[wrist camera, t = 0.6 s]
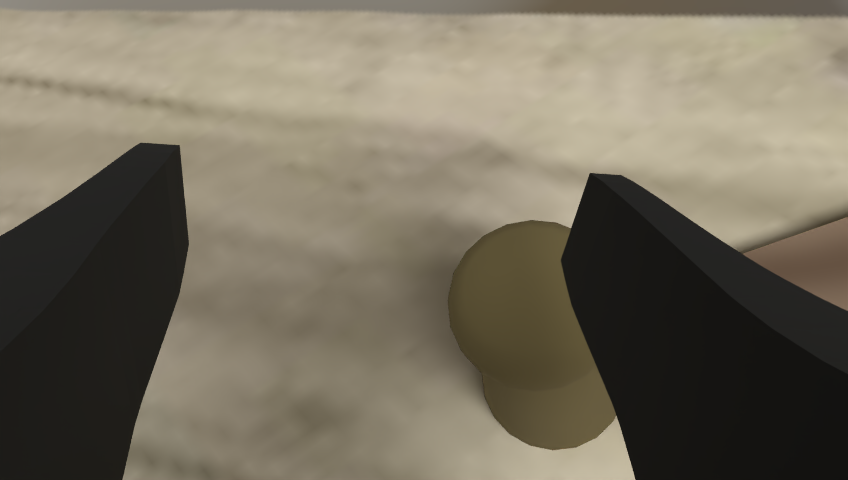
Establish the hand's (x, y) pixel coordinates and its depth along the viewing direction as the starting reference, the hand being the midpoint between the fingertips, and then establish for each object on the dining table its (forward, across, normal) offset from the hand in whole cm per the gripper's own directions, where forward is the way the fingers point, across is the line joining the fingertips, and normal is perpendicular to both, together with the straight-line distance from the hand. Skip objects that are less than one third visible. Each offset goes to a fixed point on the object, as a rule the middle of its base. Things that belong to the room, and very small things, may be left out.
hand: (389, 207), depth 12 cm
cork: (+8, -9, +14) cm, 19 cm away
